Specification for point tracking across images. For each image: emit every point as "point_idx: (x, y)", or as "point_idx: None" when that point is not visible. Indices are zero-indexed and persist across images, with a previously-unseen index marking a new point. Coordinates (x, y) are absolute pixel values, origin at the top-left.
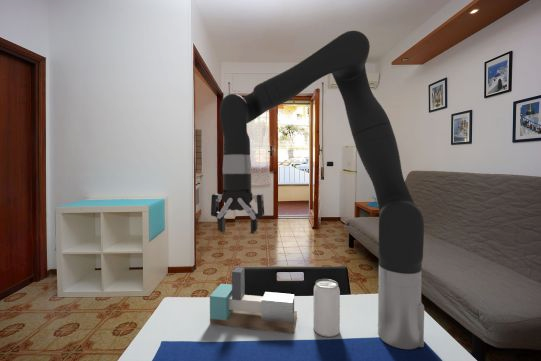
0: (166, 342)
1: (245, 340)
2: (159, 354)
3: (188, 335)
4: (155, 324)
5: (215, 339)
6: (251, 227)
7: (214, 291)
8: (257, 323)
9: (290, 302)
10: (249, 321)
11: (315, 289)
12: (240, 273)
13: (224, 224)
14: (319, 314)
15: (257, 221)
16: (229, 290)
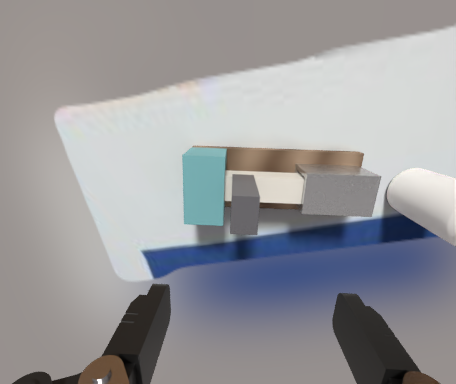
0: (150, 253)
1: (268, 234)
2: (157, 275)
3: (173, 234)
4: (100, 214)
5: (220, 238)
6: (350, 359)
7: (185, 201)
8: (285, 208)
9: (367, 216)
10: (269, 204)
11: (450, 234)
12: (256, 233)
13: (157, 326)
14: (417, 223)
15: (411, 359)
16: (219, 191)
